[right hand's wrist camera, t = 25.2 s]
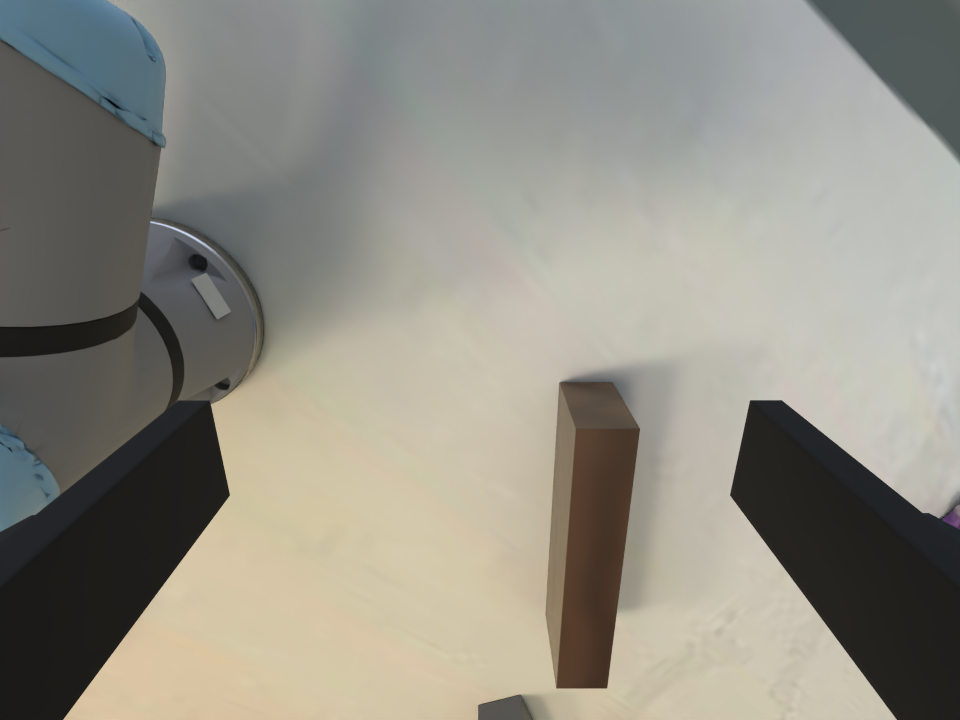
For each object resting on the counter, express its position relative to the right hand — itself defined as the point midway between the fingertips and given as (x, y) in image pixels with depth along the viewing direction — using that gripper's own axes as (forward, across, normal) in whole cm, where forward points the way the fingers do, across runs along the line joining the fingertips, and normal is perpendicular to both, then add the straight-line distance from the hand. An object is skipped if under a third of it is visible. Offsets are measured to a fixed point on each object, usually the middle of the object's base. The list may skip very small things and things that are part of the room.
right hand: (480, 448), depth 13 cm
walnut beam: (+29, +9, -24) cm, 38 cm away
